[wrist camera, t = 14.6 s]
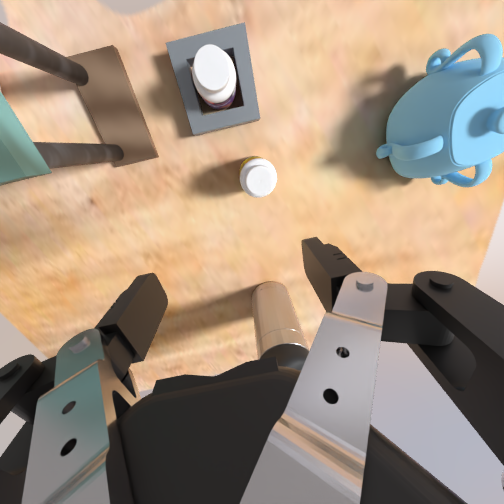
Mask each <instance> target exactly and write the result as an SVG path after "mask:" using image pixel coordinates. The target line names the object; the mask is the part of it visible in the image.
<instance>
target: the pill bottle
mask: <svg viewBox="0 0 504 504" xmlns="http://www.w3.org/2000/svg"><path fill="white" fill-rule="evenodd" d="M192 75H193V81H194V84H195V86H196V89H197V91H198V92H199V94H200V95H201V97H202V98H203V100H204V101H205V103H206V104H207V105H208V106H209V107H211V108H213V109H215V110H223V109H226V108H228V107H229V106H230V105H231V104H232V102H233V100H234V98H235V93H236V72H235V67H234V64H233V62H232V60H231V58H230V57H229V56H228V54H227V53H226V52H224V51H223V50H222V49H220V48H219V47H217V46H215V45H211V44H209V45H205V46H203V47H201V48H200V49H199V50H198V52H197V53H196V56H195V59H194V63H193V68H192Z"/></svg>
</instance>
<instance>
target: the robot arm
mask: <svg viewBox="0 0 504 504" xmlns="http://www.w3.org/2000/svg"><path fill="white" fill-rule="evenodd" d="M302 253H303V262H304V269H305V273H306V275H307V277H308V279H309V281H310V283H311V285H312V286H313V288H314V290H315V292H316V294H317V296H318V297H319V299H320V301H321V303H322V305H323V306H324V308H325V310H326V313H325V315H324V317H323V320H322V322H321V324H320V327H319V329H318V332H317V334H316V337H315V339H314V341H313V344H312V346H311V349H310V351H309V348H308V346H307V343H306V340H305V338H304V335H303V332H302V329H301V326H300V324H299V321H298V318H297V315H296V313H295V310H294V307H293V304H292V301H291V299H290V296H289V293H288V291H287V289H286V287H285V286H283V285H282V284H280V283H277V282H266V283H263V284H261V285H259V286H258V287H257V288H256V289H255V290H254V291H253V293H252V308H253V318H254V327H255V337H256V346H257V355H258V360H255V361H250V362H245V363H243V364H241V365H239V366H237V367H235V368H233V369H230V370H228V371H226V372H224V373H222V374H220V375H217V376H213V377H211V376H198V375H181V376H176V377H171V378H166V379H161V380H156V383H155V386H154V389H153V392H152V393H151V394H149V395H147V396H145V397H144V398H142V399H141V397H140V394H139V391H138V388H137V385H136V382H135V379H134V376H133V373H132V371H131V370H130V369H129V367H130V365H131V363H136V362H141V361H144V359H145V356H146V354H147V352H148V349H149V347H150V345H151V343H152V340H153V338H154V336H155V333H156V331H157V329H158V326H159V324H160V322H161V319H162V317H163V315H164V312H165V310H166V308H167V305H168V299H167V295H166V293H165V291H164V289H163V287H162V286H161V284H160V282H159V280H158V278H157V276H156V275H155V274H154V273H149V274H144V275H140V276H137V277H136V279H135V280H134V281H133V282H132V284H131V285H130V286H129V288H128V289H127V290H125V291H124V292H123V293H122V294H121V295H120V296H119V297H118V299H117V300H116V303H114V304H113V305H112V306H111V309H109V310H108V311H107V313H106V314H105V315H104V317H103V318H102V319H101V320H100V322H99V323H98V324H97V326H96V327H95V328H94V329H89V330H86V331H83V332H81V333H79V334H78V335H76V336H74V337H73V338H71V339H70V340H69V341H68V342H66V343H65V344H64V345H63V346H62V347H61V349H60V350H59V352H58V353H57V356H54V357H52V358H50V359H47V360H45V361H43V362H40V361H39V360H38V359H37V358H36V357H35V356H34V355H25V356H22V357H19V358H17V359H15V360H13V361H12V362H10V363H8V364H7V365H5V366H4V367H2V368H1V369H0V424H1V422H2V421H3V420H4V419H5V418H6V416H7V415H8V414H9V413H10V411H12V412H13V413H15V414H16V415H18V416H19V417H21V418H22V419H24V420H25V421H26V423H25V424H24V425H23V427H22V428H21V429H20V431H19V432H18V434H17V435H16V437H15V438H14V439H13V441H12V442H11V443H10V445H9V446H8V447H7V449H6V450H5V452H4V453H3V454H2V456H1V457H0V504H467V503H466V502H465V501H463V500H462V499H461V498H460V497H459V496H457V495H456V494H455V493H454V492H453V491H451V490H450V489H449V488H448V487H446V486H445V485H444V484H443V483H442V482H440V481H439V480H438V479H437V478H435V477H434V476H433V475H432V474H431V473H429V472H428V471H427V470H425V469H424V468H423V467H422V466H421V465H420V464H418V463H417V462H416V461H415V460H413V459H412V458H411V457H409V456H408V455H407V454H406V453H405V452H404V451H402V450H401V449H400V448H399V447H398V446H396V445H395V444H394V443H393V442H391V441H390V440H389V439H388V438H387V437H385V436H384V435H383V434H382V433H380V432H379V431H378V430H377V429H375V428H374V427H373V426H372V425H371V424H370V420H371V412H372V405H373V397H374V389H375V381H376V372H377V365H378V357H379V349H380V342H381V341H386V342H397V343H407V344H408V345H409V347H410V348H411V349H412V350H413V352H414V353H415V354H416V355H417V356H418V358H419V359H420V360H421V362H422V363H423V364H424V365H425V367H426V368H427V369H428V370H429V372H430V373H431V374H432V376H433V377H434V378H435V379H436V381H437V382H438V383H439V384H440V386H441V387H442V388H443V390H444V391H445V392H446V393H447V394H448V396H449V397H450V398H451V400H452V401H453V402H454V403H455V405H456V406H457V407H458V408H459V410H460V411H461V412H462V414H463V415H464V416H465V417H466V418H467V420H468V421H469V422H470V424H471V425H472V426H473V427H474V429H475V430H476V431H477V432H478V434H479V435H480V436H481V438H482V439H483V440H484V441H485V443H486V444H487V445H488V446H489V448H490V449H491V450H492V451H493V453H494V454H495V455H496V457H497V458H498V459H499V460H500V461H501V463H502V464H503V465H504V305H503V304H501V303H499V302H498V301H496V300H495V299H493V298H491V297H490V296H488V295H487V294H485V293H484V292H482V291H480V290H479V289H477V288H476V287H474V286H473V285H471V284H469V283H468V282H466V281H465V280H463V279H461V278H460V277H457V276H455V275H452V274H449V273H445V272H439V271H425V272H421V273H418V274H417V275H415V277H414V280H413V284H389V283H387V282H386V281H385V280H384V279H383V278H382V277H380V276H378V275H376V274H373V273H368V272H362V271H361V270H360V269H359V268H358V267H357V266H356V265H355V264H354V263H353V262H352V261H351V260H350V259H349V258H347V256H346V255H345V254H344V253H343V252H342V251H341V250H340V249H339V248H338V247H336V246H333V245H331V244H325V245H324V244H323V243H322V242H321V241H320V240H319V239H318V238H317V237H313V238H309V239H304V240H302ZM502 486H503V489H504V470H503V473H502Z"/></svg>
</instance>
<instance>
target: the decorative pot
mask: <svg viewBox="0 0 504 504" xmlns="http://www.w3.org/2000/svg"><path fill="white" fill-rule="evenodd" d="M471 49H475V50H477V51H478V53H479V54H480V57H481V58H478V59H471V60H466V61H461V62H457V63H455V62H456V61H457V60H458V59H459V58H461V57H462V56H463V55H464V54H465V53H467V52H468V51H470V50H471ZM502 53H503V51H502V45H501V42H500V40H499V39H498V38H497V37H496V36H495V35H493V34H483V35H480V36H477V37H475V38H473V39H471V40H469V41H468V42H466V43H465V44H463V45H462V46H461V47H460V48H458V49H457V50H456V51H455V52H454V53H453V54H452V55H451V54H450V51H449V50H448V49H440V50H438V51H436V52H435V53H434V54H433V55H432V56H431V57H430V58H429V60H428V62H427V66H426V72H427V74H428V75H427V76H426V77H424V78H423V79H422V80H420V81H419V82H418V83H416V84H415V85H414V86H413V87H411V88H410V89H409V90H408V91H407V92H406V93H405V94H404V95H403V96H402V97H401V98H400V99H399V101H398V102H397V103H396V105H395V106H394V108H393V110H392V111H391V113H390V116H389V118H388V122H387V128H386V142H387V144H384V145H382V146H380V147H379V148H378V149H377V152H376V155H377V157H378V158H379V159H381V158H384V157H387V156H389V159H390V162H391V165H392V167H393V169H394V170H395V172H396V173H398V174H399V175H401V176H403V177H407V178H430V177H431V180H432V182H433V183H434V184H437V185H440V184H445V183H446V182H448V181H450V182H451V183H453V184H455V185H458V186H461V187H473V186H476V185H478V184H480V183H482V182H483V181H485V180H486V179H487V178H488V176H489V175H490V173H491V170H492V160H491V158H493V157H495V156H497V155H499V154H501V153H502V152H504V58H503V57H502ZM440 60H441V61H440ZM472 166H475V169H476V174H475V177H474V179H471V178H468V177H466V176H463V175H461V174H460V173H458V172H457V171H461V170H464V169H466V168H469V167H472Z"/></svg>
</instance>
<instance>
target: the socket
mask: <svg viewBox="0 0 504 504" xmlns="http://www.w3.org/2000/svg"><path fill="white" fill-rule="evenodd" d="M209 44H211V45H215V46H217V47H219V48H220V49H222V50H223V51H224V52H226V53H227V54H228V56H229V57H232V56H234V61H235V66H236V71H237V77H238V82H239V87H240V92H241V98H242V103H243V106H241V107H237V108H233V109H229V110H225V111H221V112H217V113H213V114H208V115H203V112H202V108H201V104H200V101H199V97H198V93H197V89H196V86H195V84H194V81H193V75H192V71H191V67H193V63H194V59H195V56H196V53H197V52H198V50H199V49H200V48H201V47H203V46H205V45H209ZM166 46H167V49H168V53H169V56H170V59H171V63H172V66H173V69H174V73H175V76H176V79H177V83H178V86H179V89H180V93H181V96H182V99H183V103H184V106H185V109H186V112H187V116H188V119H189V122H190V126H191V129H192V132H193V135H196V136H197V135H201V134H205V133H209V132H213V131H218V130H222V129H226V128H230V127H234V126H238V125H242V124H246V123H251V122H255V121H258V120H259V119H260V114H259V108H258V102H257V95H256V89H255V83H254V77H253V71H252V64H251V58H250V52H249V46H248V40H247V33H246V27H245V23H241V24H237V25H233V26H229V27H225V28H221V29H218V30H214V31H210V32H206V33H202V34H198V35H194V36H191V37H187V38H183V39H179V40H175V41H171V42H167V43H166Z"/></svg>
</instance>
